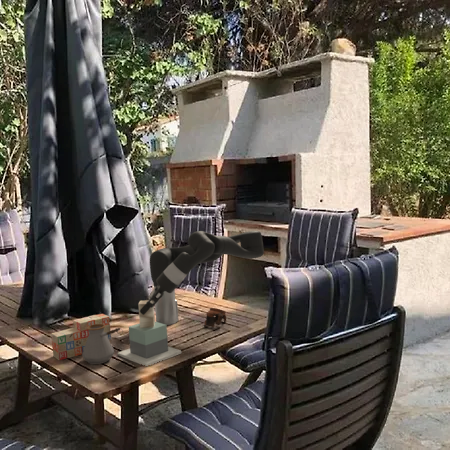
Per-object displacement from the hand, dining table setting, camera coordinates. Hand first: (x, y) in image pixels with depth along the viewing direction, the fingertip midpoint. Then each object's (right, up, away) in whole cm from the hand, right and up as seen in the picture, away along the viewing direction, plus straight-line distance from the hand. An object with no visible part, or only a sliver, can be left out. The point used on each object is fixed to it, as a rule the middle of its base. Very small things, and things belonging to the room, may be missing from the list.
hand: (142, 309), depth 190 cm
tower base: (+2, -17, +2) cm, 17 cm away
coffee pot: (-12, -19, -5) cm, 23 cm away
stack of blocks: (-25, -18, +10) cm, 32 cm away
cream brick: (+2, -6, +1) cm, 6 cm away
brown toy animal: (+27, -12, +34) cm, 45 cm away
